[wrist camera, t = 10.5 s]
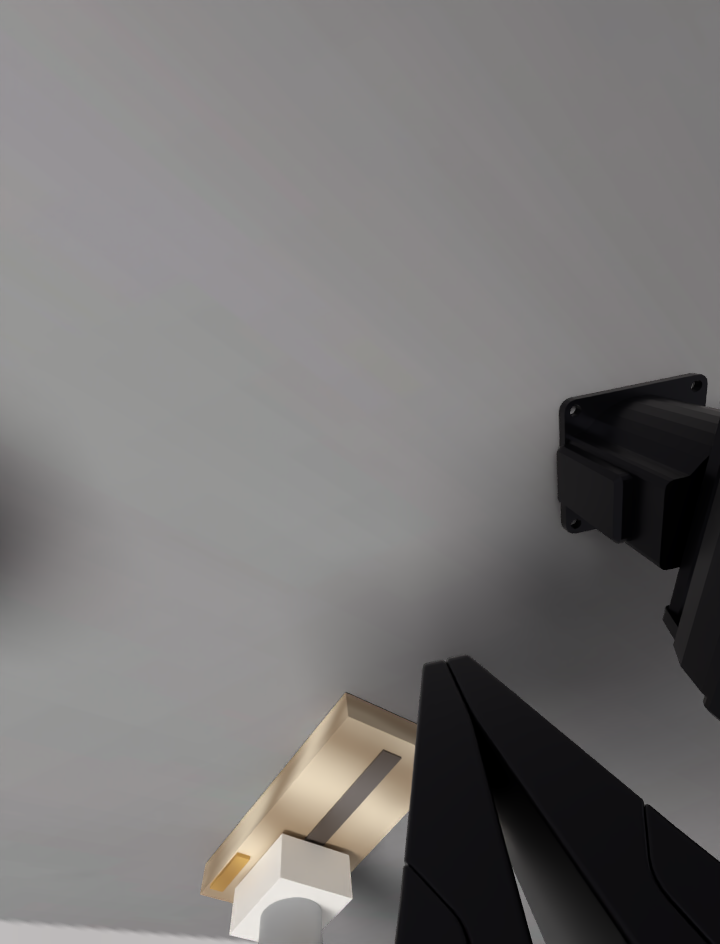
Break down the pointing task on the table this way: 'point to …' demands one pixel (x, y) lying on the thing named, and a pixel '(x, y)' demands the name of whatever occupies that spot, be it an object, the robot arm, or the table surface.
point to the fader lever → (291, 893)
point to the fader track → (327, 793)
